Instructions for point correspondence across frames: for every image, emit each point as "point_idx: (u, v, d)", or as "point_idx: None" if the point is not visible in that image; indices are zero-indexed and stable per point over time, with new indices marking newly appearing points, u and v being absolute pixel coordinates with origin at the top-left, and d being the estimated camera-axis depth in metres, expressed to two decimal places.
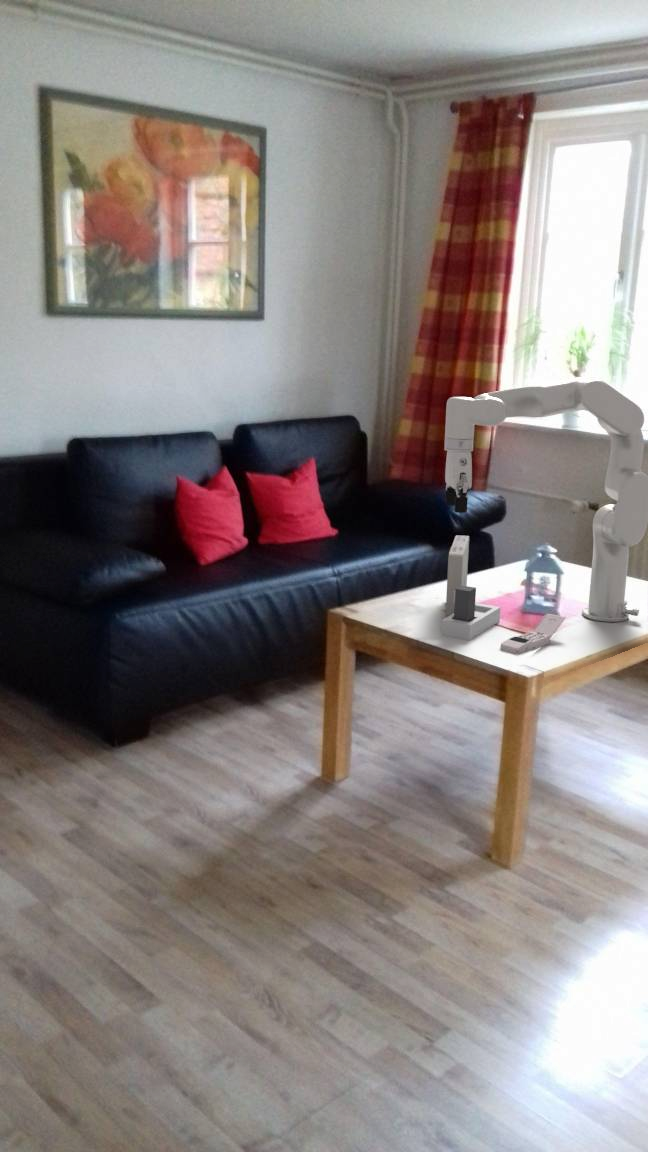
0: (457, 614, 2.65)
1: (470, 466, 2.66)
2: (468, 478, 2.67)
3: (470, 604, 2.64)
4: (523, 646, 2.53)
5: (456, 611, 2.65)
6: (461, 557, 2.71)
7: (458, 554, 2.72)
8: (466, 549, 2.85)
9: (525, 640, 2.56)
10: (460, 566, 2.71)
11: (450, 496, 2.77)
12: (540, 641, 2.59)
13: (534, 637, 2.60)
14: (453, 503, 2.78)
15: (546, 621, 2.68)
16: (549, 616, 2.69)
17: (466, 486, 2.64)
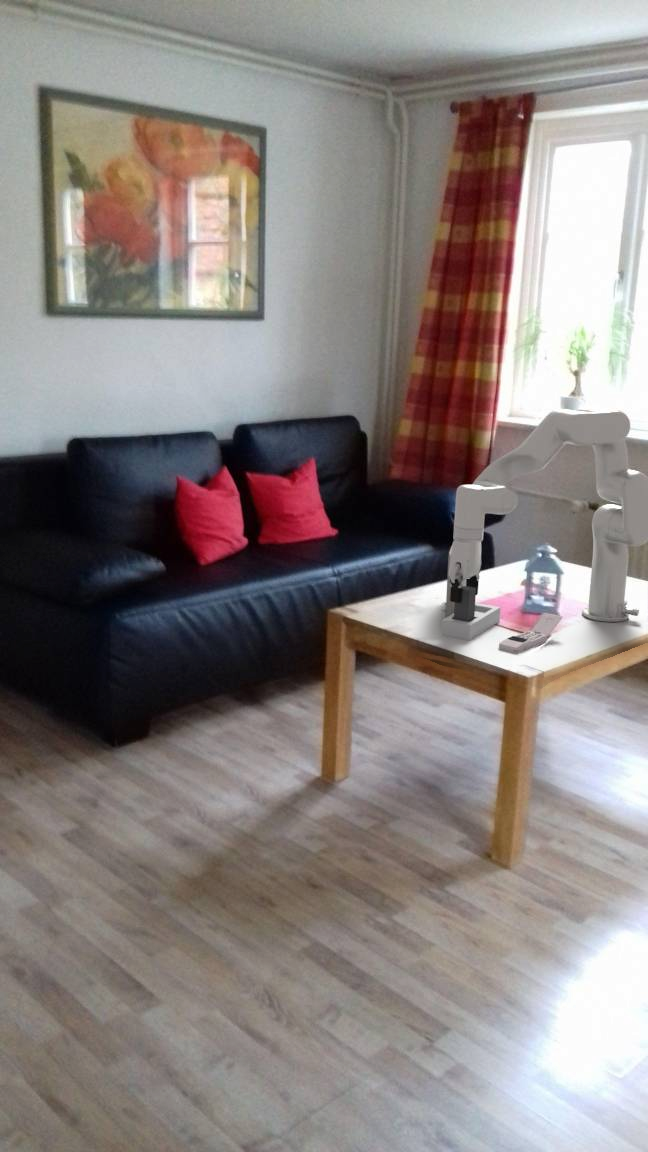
0: (457, 614, 2.65)
1: None
2: None
3: (470, 604, 2.64)
4: (521, 645, 2.54)
5: (456, 611, 2.65)
6: None
7: None
8: None
9: (523, 639, 2.56)
10: None
11: None
12: (538, 640, 2.59)
13: (532, 636, 2.61)
14: None
15: (543, 620, 2.69)
16: (546, 615, 2.70)
17: None
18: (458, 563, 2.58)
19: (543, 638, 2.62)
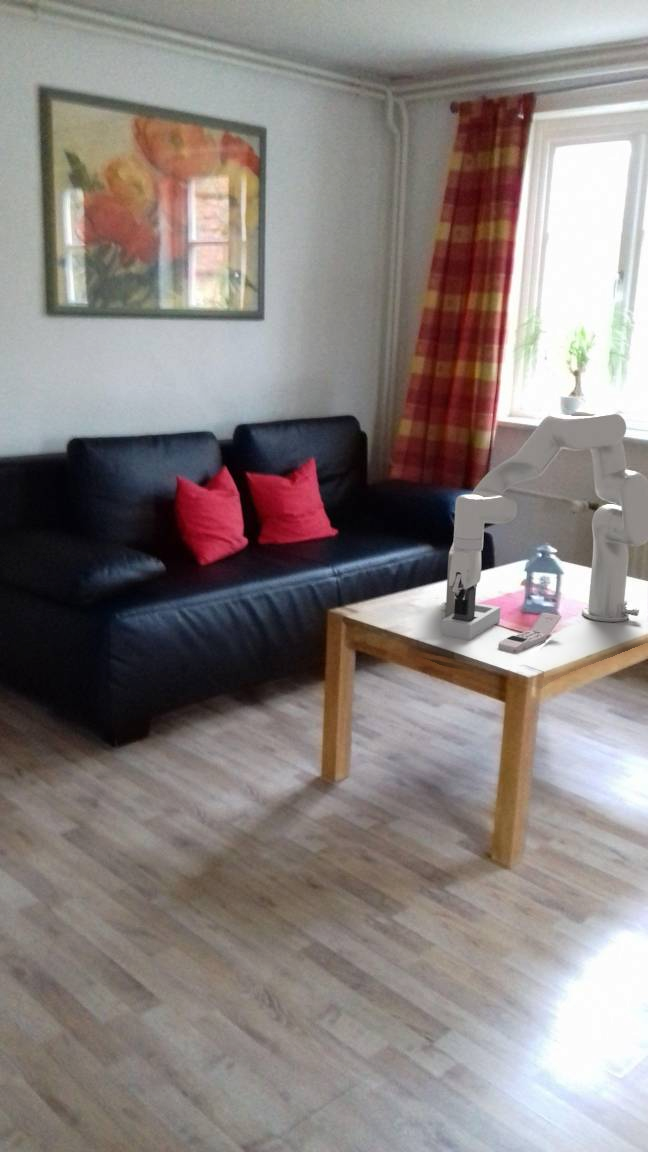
0: (457, 614, 2.65)
1: None
2: None
3: (470, 604, 2.64)
4: (521, 645, 2.54)
5: None
6: None
7: None
8: None
9: (523, 639, 2.57)
10: None
11: None
12: (537, 640, 2.60)
13: (531, 636, 2.61)
14: None
15: (542, 620, 2.69)
16: (545, 615, 2.70)
17: None
18: (458, 576, 2.60)
19: (542, 638, 2.62)
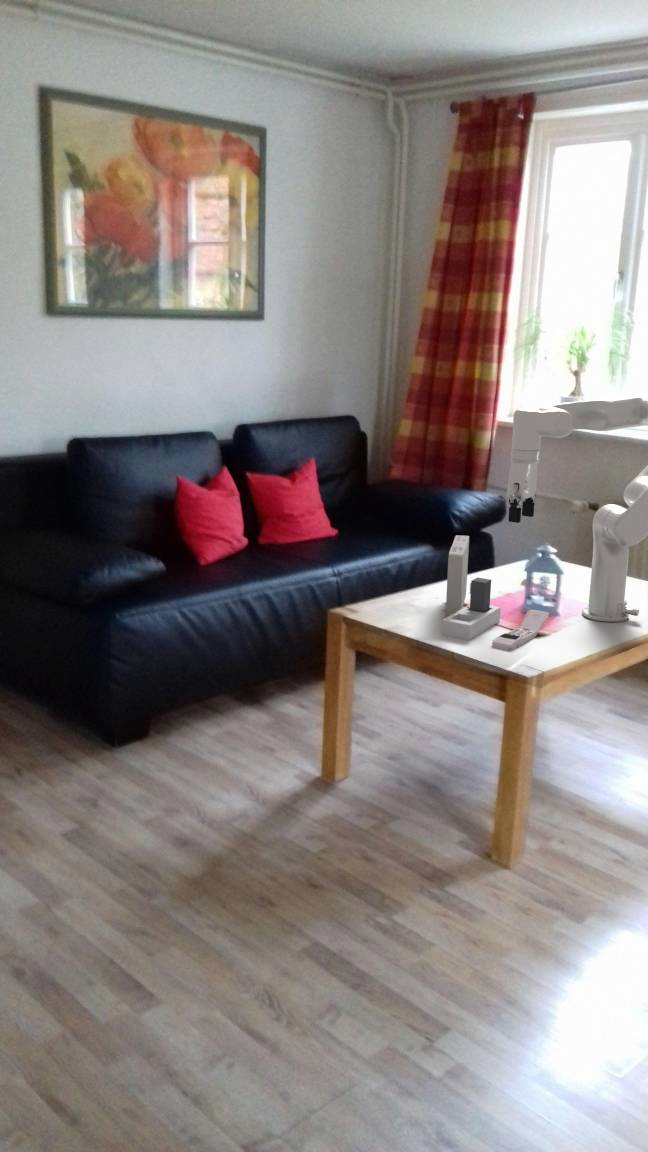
0: (473, 605, 2.73)
1: None
2: None
3: (485, 595, 2.72)
4: (515, 642, 2.56)
5: (472, 602, 2.73)
6: (461, 557, 2.71)
7: (458, 554, 2.72)
8: (466, 549, 2.85)
9: (515, 637, 2.58)
10: (460, 566, 2.71)
11: None
12: (529, 637, 2.62)
13: (522, 633, 2.63)
14: None
15: (530, 617, 2.71)
16: (533, 612, 2.73)
17: None
18: (516, 484, 2.69)
19: (533, 635, 2.64)
